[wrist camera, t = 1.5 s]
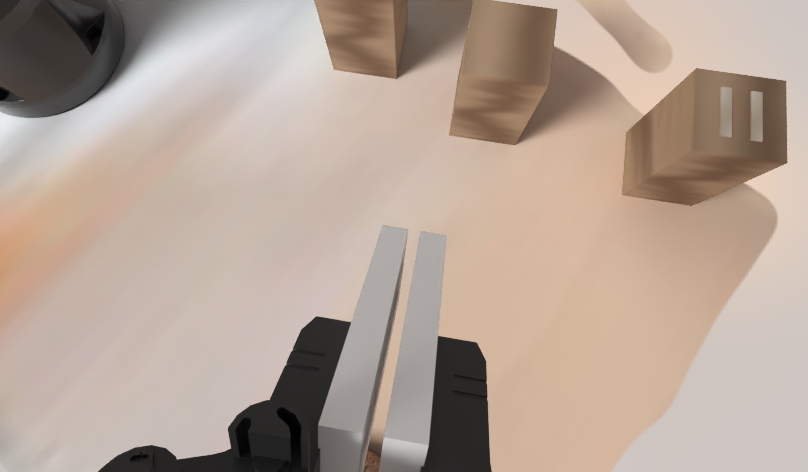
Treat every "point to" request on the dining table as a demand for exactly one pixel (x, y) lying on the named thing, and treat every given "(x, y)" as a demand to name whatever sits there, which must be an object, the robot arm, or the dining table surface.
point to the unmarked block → (502, 70)
